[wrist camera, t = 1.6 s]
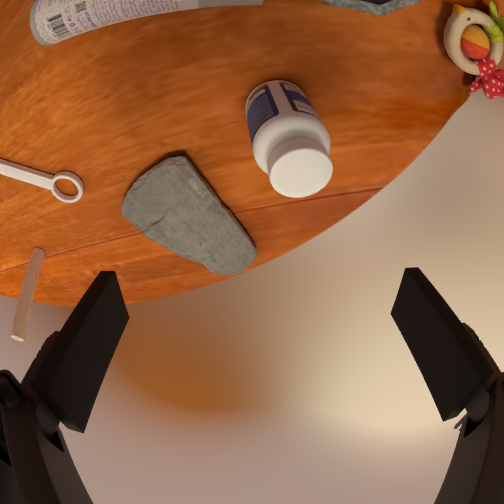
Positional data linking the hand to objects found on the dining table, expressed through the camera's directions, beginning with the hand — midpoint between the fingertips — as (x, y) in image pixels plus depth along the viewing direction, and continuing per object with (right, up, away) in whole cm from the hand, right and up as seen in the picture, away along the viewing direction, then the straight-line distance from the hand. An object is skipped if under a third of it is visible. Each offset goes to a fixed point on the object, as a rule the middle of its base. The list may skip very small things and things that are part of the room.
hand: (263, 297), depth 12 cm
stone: (-2, +6, +19) cm, 20 cm away
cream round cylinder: (-33, +2, +22) cm, 40 cm away
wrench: (-28, +13, +6) cm, 31 cm away
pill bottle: (+2, +15, +10) cm, 18 cm away
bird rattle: (+16, +21, +2) cm, 26 cm away
